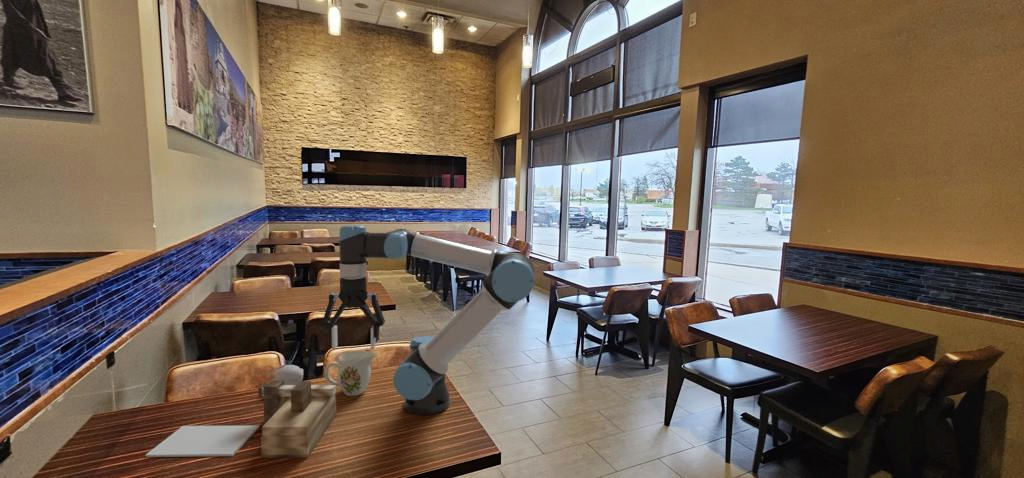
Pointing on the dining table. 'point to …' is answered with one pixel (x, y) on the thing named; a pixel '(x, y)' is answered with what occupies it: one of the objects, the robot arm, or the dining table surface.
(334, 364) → the pitcher
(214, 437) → the light grey flat board
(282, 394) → the beige wooden bar
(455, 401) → the dining table surface
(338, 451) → the dining table surface
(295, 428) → the lid
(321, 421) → the light wood open box
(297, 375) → the toy
